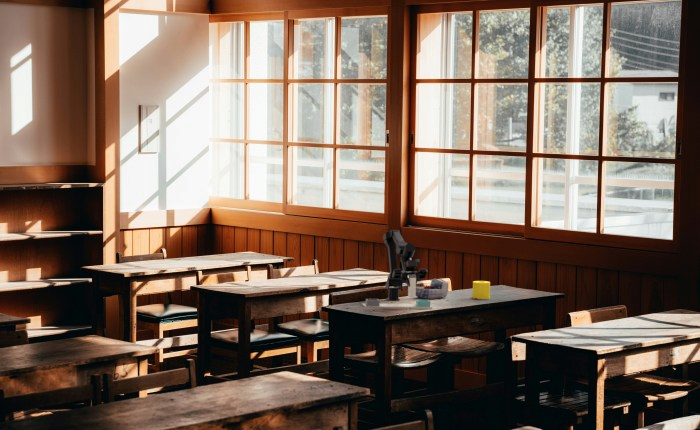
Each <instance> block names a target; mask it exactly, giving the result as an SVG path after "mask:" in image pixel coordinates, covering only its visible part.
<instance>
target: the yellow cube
mask: <svg viewBox="0 0 700 430" xmlns="http://www.w3.org/2000/svg"><path fill="white" fill-rule="evenodd" d="M472 298H473V299H475V298H477V299H476V300H489V299H491V282H490V281H486V280H474V281H472Z"/></svg>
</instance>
